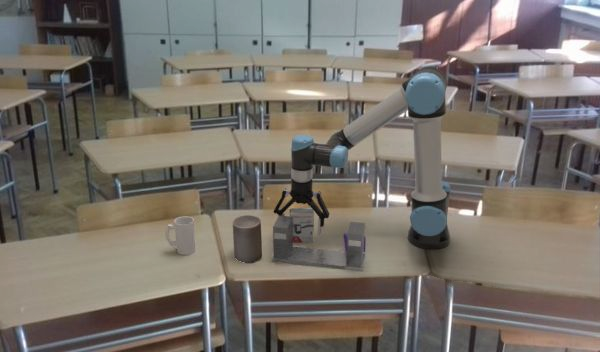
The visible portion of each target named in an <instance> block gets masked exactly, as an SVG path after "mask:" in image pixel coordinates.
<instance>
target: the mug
mask: <svg viewBox="0 0 600 352" xmlns="http://www.w3.org/2000/svg"><path fill="white" fill-rule="evenodd" d="M173 223H174V224H167V227H166V230H165V238H166V241H167V242H168V244H169V245H170V246H172V247H173V246H175V247H176V250H177V254H179V255H181V256H188V255H189V256H190V255H192V254H194V253H196V241H195V239H196V238H195V237H196V235H195V219H194V218H193V217H192V216H184V215H183V216H178V217H176V218H175V219H174V221H173ZM173 229H174V232H175V233H174V235H175V240H172V239H171V238H170V236H169V233H170V231H171V230H173Z"/></svg>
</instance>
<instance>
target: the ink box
mask: <svg viewBox="0 0 600 352" xmlns="http://www.w3.org/2000/svg"><path fill="white" fill-rule="evenodd" d="M289 216H291V217H293V244H296V243H298V244H299V243H313V242H314V238H315V237H314V234H315V231H314V229H315V228H314V226H315V211H314V210H313V209H312V208H311V207H291V208H289Z"/></svg>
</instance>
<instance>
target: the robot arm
mask: <svg viewBox="0 0 600 352" xmlns="http://www.w3.org/2000/svg"><path fill="white" fill-rule="evenodd" d="M447 85H448V81H447V78H446V76H445V74H444V72H442V71H441V70H440V69H439V68H436V67H434V66H424V67H421V68H420V69H418V70H417V71H416V72H414V73H413V75H411V76H410V77H409V78H408V79H406V80H405V81H404V82H402V83H401V85H400V88H399V89H397V90H396V91H395V92H393V93H392V94H391V95H389V96H388V97H387V98H384V99H383V100H382V101H380V102H379V103H378V104H376V105H374V106H373V107H371V109H369V110H368V111H366V112H365V113H363V114H362V115H360V116H359V117H357V118H356V119H354V120H353V121H352V122H351V123H348V125H346V126H345V127H343V128H342V129H340V130H339V131H336V132H334V133H333V134H332V135H331V136H330V137H329V139H328V140H327V141H326V143H325V144H324V143H316V142H315V141H314V138H313V136H311V135H309V134H297V135H295V136H294V137H293V138H292V140H291V148H290V152H291V154H290V155H291V167H290V168H291V169H290V170H291V172H290V174H291V175H290V178H291V181H290V186H291V187H290V190H289V189H287V188H283V189H282V192H281V196H280V198H279V200H278V202H277V204H276V206H275V208H274V210H273V214H277V215H278V216H286V213H285V212H287V211H286V210H288V209H290V207H291V206H292V205H293V204H294V203H296V204H302V205H306V204H307V205H308V207H309V208H312V209H313V212H314V214H316V215H317V216H318V219H317V237H318V236H319V237H320V236H321V234H322V228H323V227H324V225H325V220H326V219H329V217H330V212H329V209H328V208H327V205H326V203H325V202H324V200H323V198H322V191H317V192H314V191H313V176H314V175H313V171H314V170H313V169H314V166H321V167H326V168H327V167H329V168H333V169H334V168H335V169H337V168H338V169H339V168H341V169H344V168H345V167H346V166H347V163H348V160H349V159H348V158H349V151H350V150H351V149H352V148H354V147H355V146H356V145H359V143H361V142H362V141H364V140H365V139H367V138H369V137H370V136H371V135H373V134H374V133H376V132H378V131H380V130H381V129H382V128H384V127H385V126H387V125H388V124H390V123H391V122H393V121H395V120H396V119H397V118H399V117H400V116H402V115H403V114H405V113H406V112H407V116H408V117H409V119H410V120H412V122H413V124H412V127H413V150H414V151H413V152H414V155H413V156H414V157H413V158H414V178H415V179H414V180H415V181H414V182H415V183H414V186H415V189H414V190H413V191H412V192H411V193H410V198H411V199H410V200H411V201H410V203H411V204H410V205H411V213H410V216H409V220H410V227H409V229H408V231H407V240H408V241H409V243H411V244H412V245H414V246H416V247H419V248H421V249H424V250H425V249H427V250H440V249H443V248H446V247H448V245H449V244H450V240H451V235H450V230H449V227H448V213H449V203H450V197H451V196H450V195H451V185H450V184H449V183H448V182H447V181H443V178H442V177H443V176H442V175H443V173H442V169H443V168H442V124H441V122H442V119H443V118H444V117H445V116H446V114H447V113H446V91H447ZM289 195H290V197H291V198H290V200H289V201H288V202H287V203H285V205H283V207H281V206H282V204H283V201H284V200H285V199H286V197H288V196H289ZM313 197H314V199H316V200H317V203H315V200H314V199H313ZM318 205H319V206H320V208H319V206H318ZM278 216H277V217H278Z"/></svg>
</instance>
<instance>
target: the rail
mask: <svg viewBox="0 0 600 352" xmlns="http://www.w3.org/2000/svg"><path fill="white" fill-rule="evenodd" d="M365 228H366V223H365V222H359V221H350V222H349V226H348V231H347V232H346V233H347V252H346V251H345V250H332V249H324V248H313V247H312V248H311V247H304V246H303V247H302V246H301V247H300V246H294V243H293V217H291V216H290V215H289V216H288V215H285V216H277V218H276V220H275V222H274V224H273V227H272V238H273V239H272V240H273V241H272V245H273V246H272V247H273V249H272V251H273V252H272V253H273V255H272V258H271V263H276V264H277V263H279V264H280V263H281V264H287V265H289V264H290V265H298V266H299V265H300V266H308V267H318V268H327V269H328V268H329V269H338V270H349V271H357V272H359V271H360V272H363V270H364V263H365V258H366V252H364V235H365V234H366V233H365V230H366V229H365Z"/></svg>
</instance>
